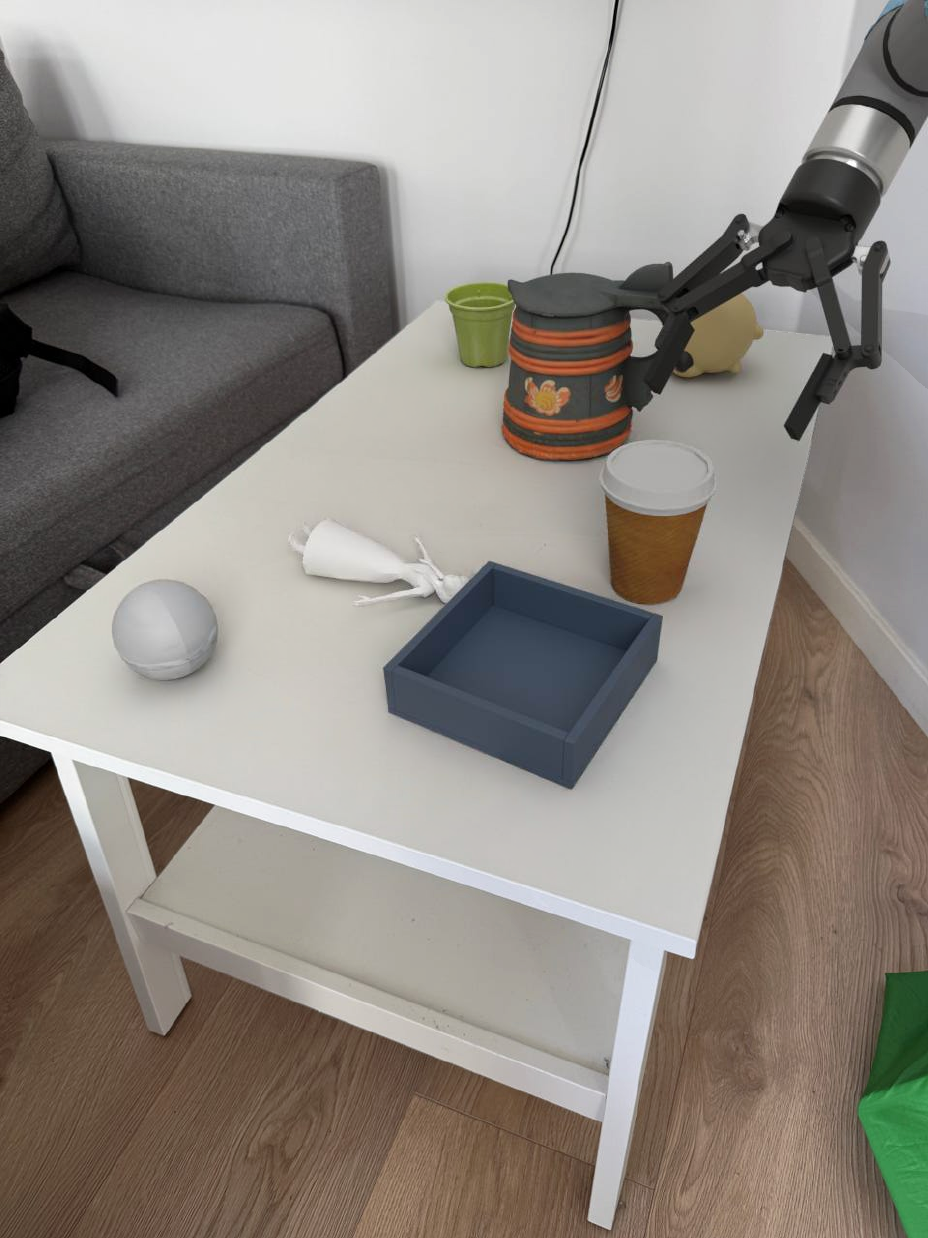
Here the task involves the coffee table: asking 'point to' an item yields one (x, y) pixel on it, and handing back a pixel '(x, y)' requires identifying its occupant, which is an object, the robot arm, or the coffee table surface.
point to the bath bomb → (164, 629)
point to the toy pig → (720, 339)
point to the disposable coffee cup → (654, 515)
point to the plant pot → (481, 321)
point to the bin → (525, 670)
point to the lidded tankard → (577, 362)
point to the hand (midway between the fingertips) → (717, 409)
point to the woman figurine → (370, 563)
